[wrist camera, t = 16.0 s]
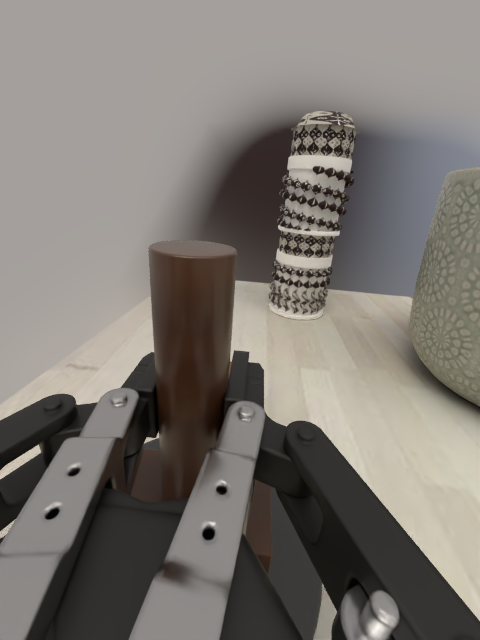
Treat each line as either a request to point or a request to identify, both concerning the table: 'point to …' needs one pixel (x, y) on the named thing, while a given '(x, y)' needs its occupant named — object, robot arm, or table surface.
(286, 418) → the table surface
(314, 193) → the white patterned cylinder
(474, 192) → the planter
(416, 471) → the table surface
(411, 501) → the table surface
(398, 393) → the table surface
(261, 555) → the wooden peg
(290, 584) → the plate
